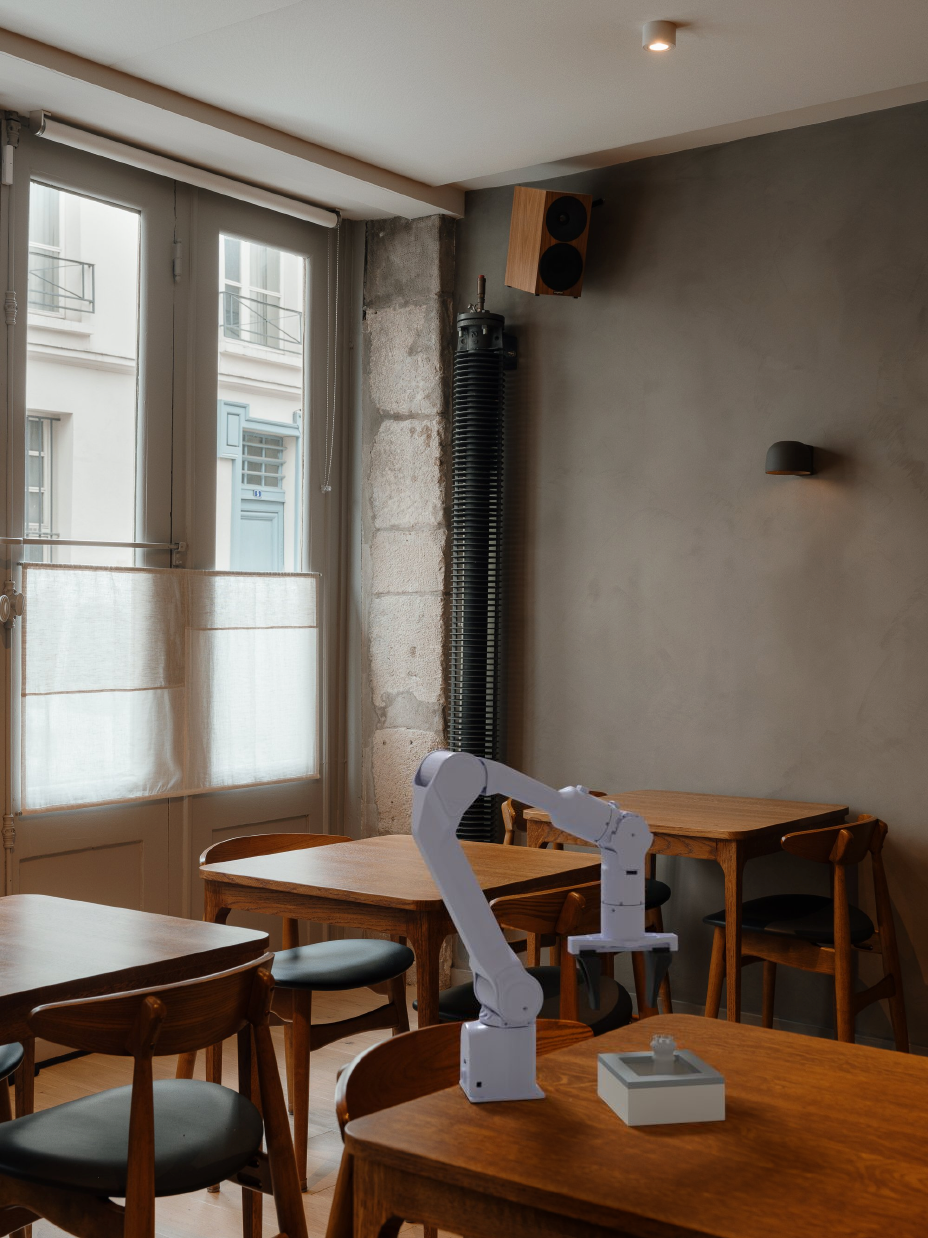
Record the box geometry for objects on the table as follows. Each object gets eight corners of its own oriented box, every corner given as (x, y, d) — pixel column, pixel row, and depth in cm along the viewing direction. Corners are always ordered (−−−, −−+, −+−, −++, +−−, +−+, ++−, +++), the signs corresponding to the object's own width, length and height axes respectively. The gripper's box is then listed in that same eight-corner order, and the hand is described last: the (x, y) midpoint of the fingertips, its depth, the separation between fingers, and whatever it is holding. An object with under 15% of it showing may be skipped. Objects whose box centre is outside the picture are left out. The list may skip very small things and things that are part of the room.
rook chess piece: (679, 1112, 151) (678, 1043, 152) (642, 1108, 153) (641, 1040, 153) (685, 1100, 155) (684, 1034, 156) (648, 1097, 157) (648, 1031, 157)
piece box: (628, 1126, 148) (628, 1082, 148) (597, 1094, 160) (597, 1054, 160) (724, 1120, 150) (724, 1077, 150) (687, 1089, 162) (687, 1049, 162)
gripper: (578, 908, 162) (578, 1017, 161) (686, 906, 164) (686, 1012, 163) (563, 900, 168) (563, 1004, 168) (667, 897, 171) (667, 999, 170)
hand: (623, 1007), depth 166 cm, fingers open, 7 cm apart
